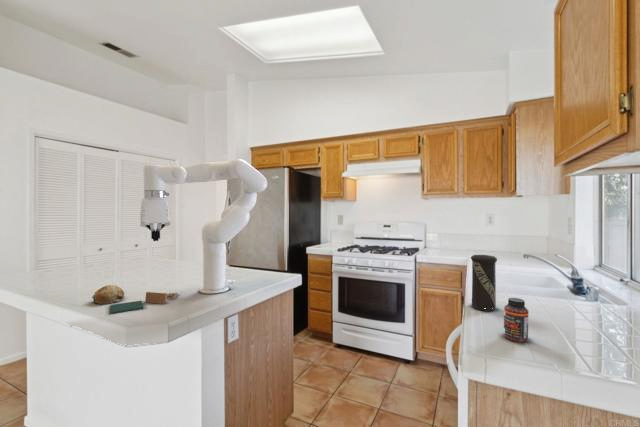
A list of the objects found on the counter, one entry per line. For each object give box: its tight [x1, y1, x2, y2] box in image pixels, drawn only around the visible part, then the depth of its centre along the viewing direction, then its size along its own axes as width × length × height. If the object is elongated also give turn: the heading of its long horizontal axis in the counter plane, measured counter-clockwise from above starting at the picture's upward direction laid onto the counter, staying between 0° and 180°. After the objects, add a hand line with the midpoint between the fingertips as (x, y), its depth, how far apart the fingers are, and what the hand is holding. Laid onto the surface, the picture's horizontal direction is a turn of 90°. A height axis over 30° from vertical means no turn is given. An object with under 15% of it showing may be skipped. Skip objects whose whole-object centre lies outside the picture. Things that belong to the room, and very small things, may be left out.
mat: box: [109, 300, 144, 315], centre depth 114 cm, size 10×10×1 cm
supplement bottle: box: [503, 297, 529, 343], centre depth 87 cm, size 6×6×11 cm
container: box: [470, 254, 498, 312], centre depth 115 cm, size 9×9×20 cm
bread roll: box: [91, 284, 125, 305], centre depth 122 cm, size 10×10×8 cm
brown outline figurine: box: [144, 291, 178, 305], centre depth 126 cm, size 9×4×12 cm
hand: (155, 240), depth 123 cm, fingers closed
